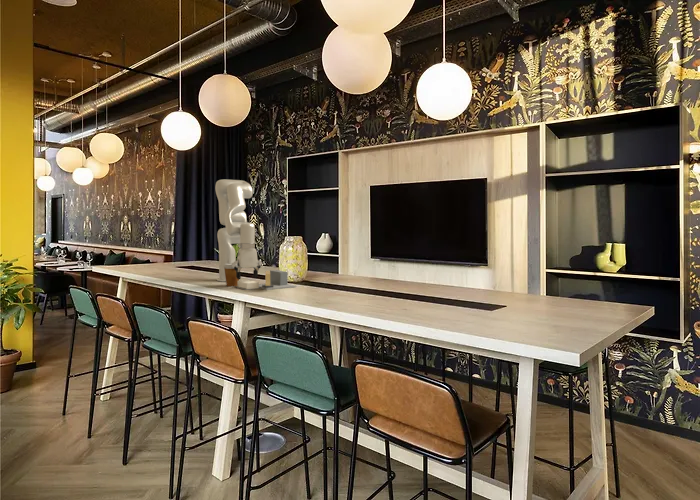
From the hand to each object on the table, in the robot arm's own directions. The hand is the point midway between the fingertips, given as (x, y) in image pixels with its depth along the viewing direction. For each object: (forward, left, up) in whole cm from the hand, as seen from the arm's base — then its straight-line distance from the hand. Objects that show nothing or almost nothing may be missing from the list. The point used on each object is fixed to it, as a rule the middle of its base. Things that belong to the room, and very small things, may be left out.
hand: (247, 278), depth 248 cm
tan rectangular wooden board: (+12, +6, -3) cm, 14 cm away
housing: (+4, +14, -5) cm, 15 cm away
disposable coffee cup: (-12, -3, -5) cm, 13 cm away
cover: (+1, 0, -5) cm, 5 cm away
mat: (+1, 0, -5) cm, 5 cm away
